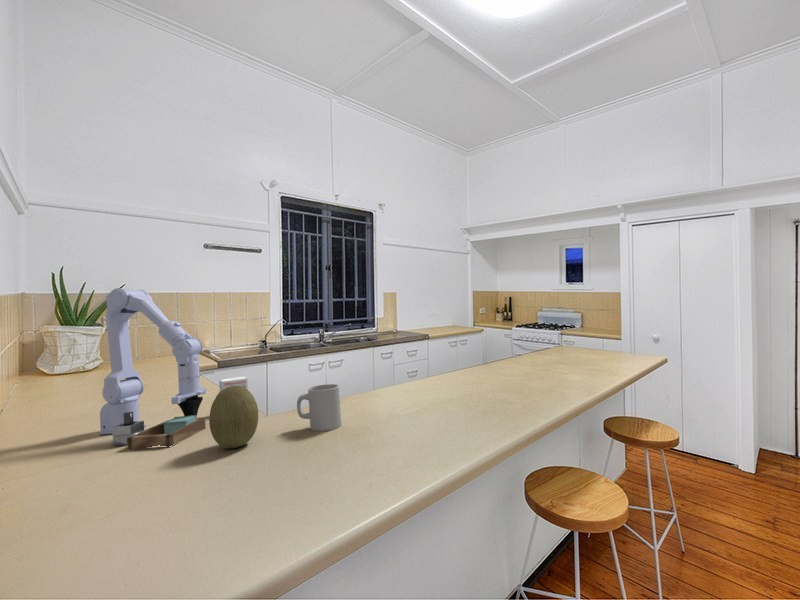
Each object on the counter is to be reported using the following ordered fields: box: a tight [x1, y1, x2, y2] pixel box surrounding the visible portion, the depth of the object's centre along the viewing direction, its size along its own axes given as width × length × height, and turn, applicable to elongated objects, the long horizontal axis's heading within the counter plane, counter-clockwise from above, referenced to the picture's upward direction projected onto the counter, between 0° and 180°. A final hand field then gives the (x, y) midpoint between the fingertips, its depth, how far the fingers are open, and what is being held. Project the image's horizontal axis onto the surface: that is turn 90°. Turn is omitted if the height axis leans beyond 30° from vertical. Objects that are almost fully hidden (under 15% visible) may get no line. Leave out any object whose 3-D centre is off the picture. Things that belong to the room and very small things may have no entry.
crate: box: [162, 415, 198, 434], centre depth 109 cm, size 6×6×4 cm
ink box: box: [218, 375, 249, 392], centre depth 129 cm, size 8×5×12 cm, turn 124°
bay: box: [127, 417, 207, 450], centre depth 103 cm, size 11×16×3 cm
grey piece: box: [112, 420, 145, 448], centre depth 102 cm, size 7×7×5 cm
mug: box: [296, 383, 342, 432], centre depth 104 cm, size 12×8×11 cm
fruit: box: [208, 386, 259, 449], centre depth 92 cm, size 11×11×15 cm
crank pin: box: [123, 412, 134, 426], centre depth 103 cm, size 2×2×6 cm
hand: (191, 422), depth 114 cm, fingers closed
